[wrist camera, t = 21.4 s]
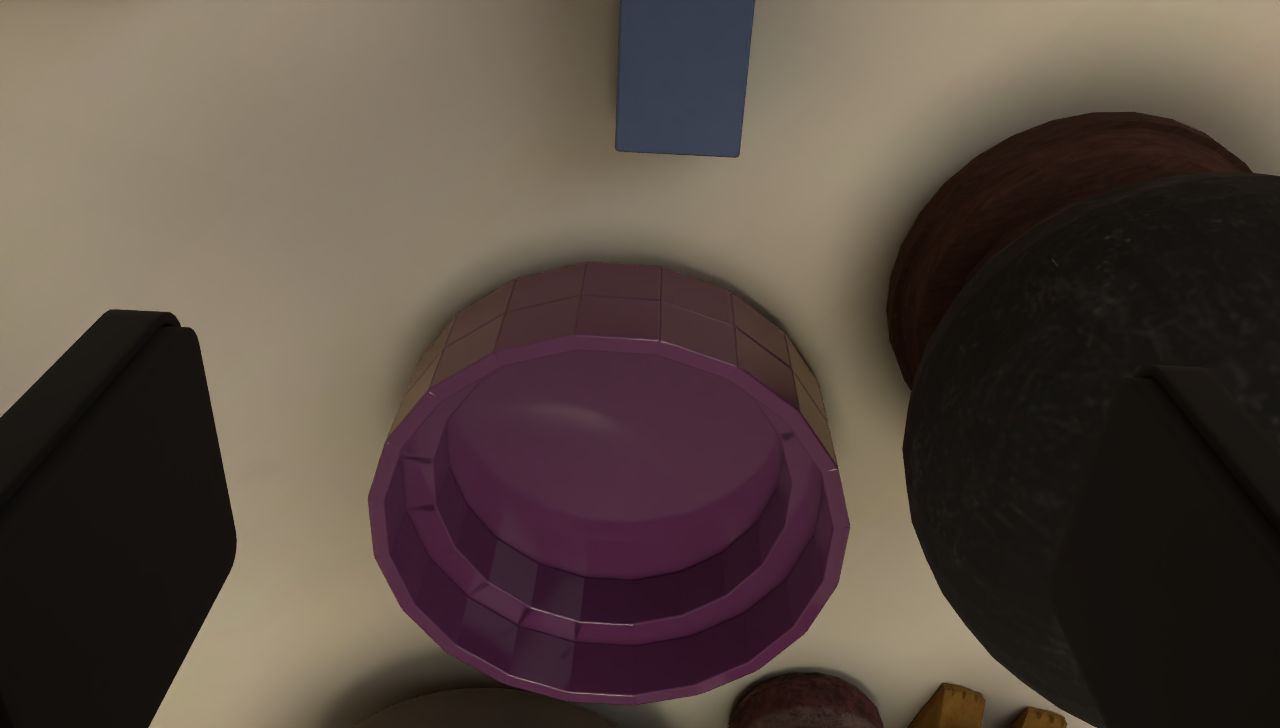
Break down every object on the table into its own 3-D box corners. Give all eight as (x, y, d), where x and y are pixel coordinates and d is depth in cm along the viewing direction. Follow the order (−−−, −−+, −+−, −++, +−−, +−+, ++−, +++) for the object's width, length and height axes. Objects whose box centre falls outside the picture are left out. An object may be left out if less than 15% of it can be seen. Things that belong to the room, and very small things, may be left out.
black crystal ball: (897, 505, 35) (1026, 937, 23) (810, 157, 29) (919, 484, 16) (1304, 412, 33) (1707, 837, 20) (1307, 10, 27) (1900, 258, 14)
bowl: (420, 585, 38) (388, 691, 34) (392, 240, 31) (347, 320, 26) (796, 607, 38) (811, 716, 34) (857, 268, 31) (886, 352, 27)
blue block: (733, 124, 29) (739, 159, 26) (619, 118, 29) (614, 152, 26) (755, -111, 25) (764, -96, 23) (627, -118, 25) (623, -103, 23)
